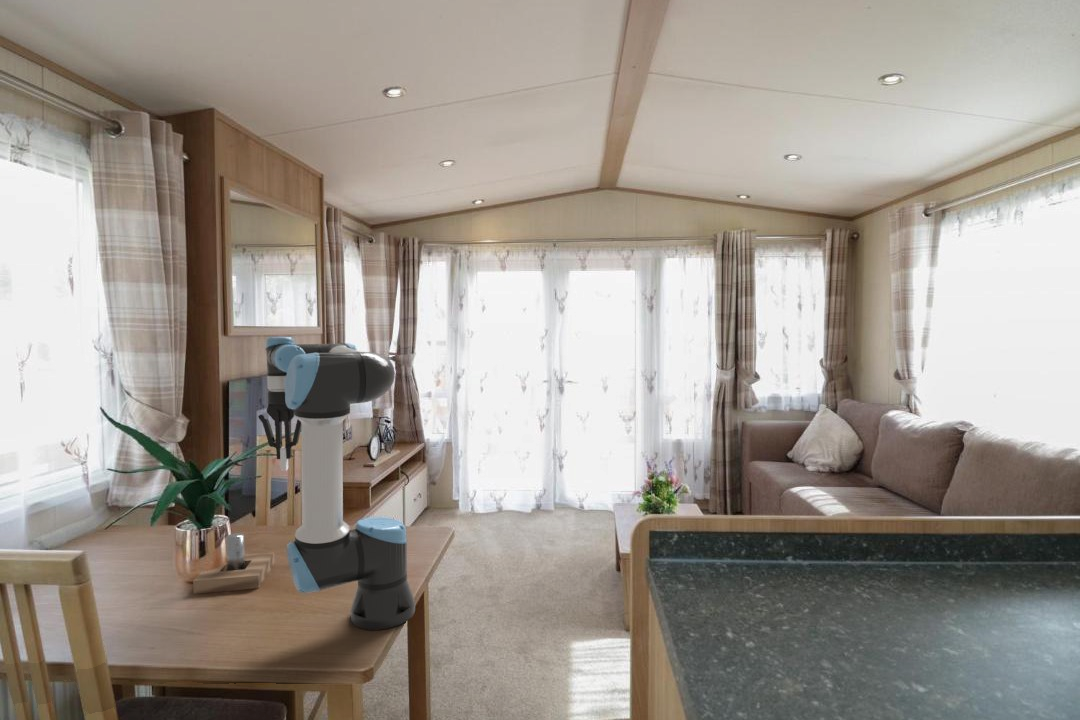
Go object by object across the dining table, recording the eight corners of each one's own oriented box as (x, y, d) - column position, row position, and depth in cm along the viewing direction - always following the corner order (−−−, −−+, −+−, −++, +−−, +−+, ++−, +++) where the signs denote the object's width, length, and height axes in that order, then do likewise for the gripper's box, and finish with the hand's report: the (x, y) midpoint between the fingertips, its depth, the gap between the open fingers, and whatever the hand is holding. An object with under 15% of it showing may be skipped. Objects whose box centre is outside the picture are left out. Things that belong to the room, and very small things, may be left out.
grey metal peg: (242, 580, 157) (241, 538, 156) (225, 582, 156) (223, 539, 155) (247, 573, 161) (245, 532, 160) (230, 575, 160) (229, 533, 160)
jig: (258, 588, 152) (258, 575, 152) (193, 593, 149) (193, 580, 149) (274, 563, 168) (274, 552, 168) (215, 568, 165) (215, 556, 164)
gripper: (308, 387, 169) (310, 465, 171) (261, 389, 167) (264, 467, 168) (303, 390, 162) (305, 471, 163) (254, 391, 160) (256, 474, 161)
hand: (284, 469), depth 166 cm, fingers closed
